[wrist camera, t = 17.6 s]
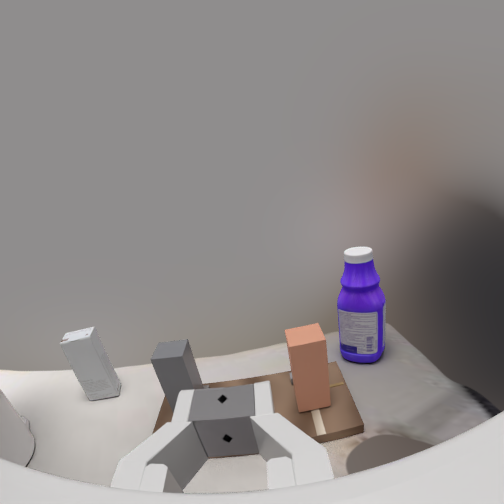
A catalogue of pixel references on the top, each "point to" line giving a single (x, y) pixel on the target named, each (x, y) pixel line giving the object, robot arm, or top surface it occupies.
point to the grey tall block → (175, 369)
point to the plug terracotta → (309, 366)
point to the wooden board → (310, 422)
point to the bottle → (361, 308)
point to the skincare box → (91, 364)
